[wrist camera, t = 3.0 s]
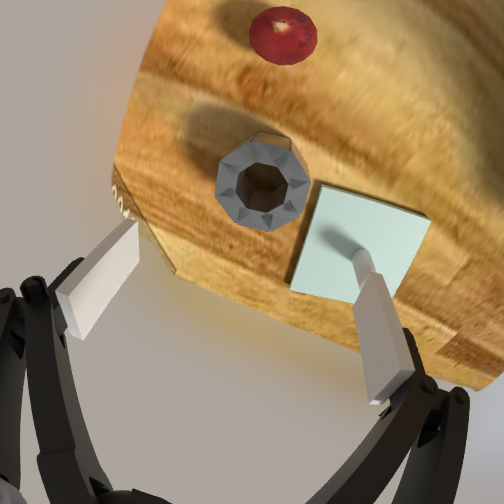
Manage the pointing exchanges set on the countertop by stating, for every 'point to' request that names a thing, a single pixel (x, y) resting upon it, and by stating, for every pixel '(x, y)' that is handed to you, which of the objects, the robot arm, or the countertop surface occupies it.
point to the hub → (259, 200)
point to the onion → (283, 35)
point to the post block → (355, 245)
